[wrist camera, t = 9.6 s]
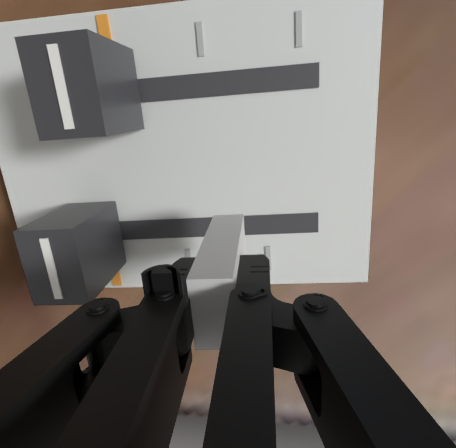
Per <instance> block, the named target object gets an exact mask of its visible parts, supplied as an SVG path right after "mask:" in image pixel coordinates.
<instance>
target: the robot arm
mask: <svg viewBox="0 0 456 448" xmlns="http://www.w3.org/2000/svg"><path fill="white" fill-rule="evenodd" d="M141 278H142V284H143V289H144V295H145V296H144V298H143V299H142V301H141V303H140V304H139V305H137V306H133V307H128V308H123V309H120V305H119V302H118V301H117V300H116V299H113V298H100V299H99V298H98V299H94V300H92V301H90V302H87V303H86V304H84V305H82V306H81V307H80V308H78V309H77V310H76V311H74V312H73V313H72V314H71V315H69V316H68V317H67V318H66V319H64V320H63V321H62V322H60V323H59V324H58V325H57V326H55V327H54V328H53V329H51V330H50V331H49V332H48V333H46V334H45V335H44V336H42V337H41V338H40V339H39V340H37V341H36V342H35V343H33V344H32V345H31V346H30V347H28V348H27V349H26V350H24V351H23V352H22V353H21V354H19V355H18V356H17V357H15V358H14V359H13V360H12V361H10V362H9V363H8V364H6V365H5V366H4V367H3V368H1V369H0V448H169V444H170V440H171V437H172V433H173V429H174V426H175V422H176V418H177V414H178V411H179V407H180V403H181V400H182V396H183V392H184V388H185V385H186V381H187V377H188V373H189V370H190V366H191V362H192V351H191V344H192V341H193V338H194V346H195V350H220V352H219V357H218V363H217V369H216V374H215V380H214V386H213V391H212V397H211V403H210V408H209V414H208V420H207V426H206V431H205V437H204V443H203V448H276V426H275V425H276V424H275V396H274V367H275V368H279V369H283V370H287V371H290V372H294V376H295V380H296V383H297V385H298V387H299V390H300V392H301V394H302V396H303V399H304V401H305V403H306V406H307V408H308V410H309V412H310V415H311V417H312V419H313V422H314V424H315V426H316V428H317V431H318V433H319V435H320V437H321V439H322V442H323V444H324V447H325V448H456V445H455V444H454V443H453V442H452V441H451V439H450V438H449V437H448V436H447V435H446V433H445V432H444V431H443V430H442V428H441V427H440V426H439V425H438V424H437V422H436V421H435V420H434V419H433V418H432V416H431V415H430V414H429V413H428V412H427V410H426V409H425V408H424V407H423V405H422V404H421V403H420V402H419V401H418V399H417V398H416V397H415V396H414V395H413V393H412V392H411V391H410V390H409V389H408V387H407V386H406V385H405V384H404V382H403V381H402V380H401V379H400V378H399V376H398V375H397V374H396V373H395V372H394V370H393V369H392V368H391V367H390V366H389V364H388V363H387V362H386V361H385V359H384V358H383V357H382V356H381V355H380V353H379V352H378V351H377V350H376V349H375V347H374V346H373V345H372V344H371V343H370V341H369V340H368V339H367V338H366V336H365V335H364V334H363V333H362V332H361V330H360V329H359V328H358V327H357V326H356V324H355V323H354V322H353V321H352V320H351V318H350V317H349V316H348V315H347V313H346V312H345V311H344V310H343V309H342V307H341V306H340V305H339V304H338V303H337V302H336V301H335V300H334V299H333V298H331V297H329V296H326V295H323V294H318V293H313V294H305V295H301V296H299V297H298V298H296V299H295V301H294V303H293V304H289V303H285V302H282V301H280V300H277V299H276V298H275V297H273V295H272V294H271V290H270V265H269V259H268V258H267V257H266V256H265V255H264V254H258V255H246V245H245V229H244V214H236V215H213V218H212V220H211V222H210V225H209V227H208V229H207V232H206V234H205V236H204V239H203V241H202V243H201V246H200V248H199V251H198V253H197V255H196V257H184V258H180V259H178V260H177V261H175V262H174V263H173V264H172V265H171V264H162V265H156V266H153V267H150V268H148V269H146V270H144V271H143V272H142V273H141ZM85 356H86V357H87V361H88V364H89V366H88V367H87V368H86V369H85V370H84V371H81V369H80V365H79V362H80V361H81V360H82V359H83V358H84V357H85Z"/></svg>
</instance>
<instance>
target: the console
mask: <svg viewBox="0 0 456 448" xmlns="http://www.w3.org/2000/svg"><path fill="white" fill-rule="evenodd" d="M382 17H383V0H187V1H179V2H170V3H162V4H153V5H145V6H136V7H128V8H119V9H111V10H102V11H94V12H85V13H77V14H68V15H59V16H51V17H42V18H34V19H25V20H17V21H8V22H0V168H1V171H2V175H3V178H4V182H5V186H6V189H7V193H8V196H9V200H10V203H11V207H12V210H13V214H14V217H15V221H16V225H17V228H20V227H22V226H24V225H26V224H28V223H30V222H32V221H34V220H36V219H38V218H40V217H42V216H44V215H46V214H48V213H50V212H52V211H54V210H56V209H58V208H60V207H62V206H64V205H66V204H69V203H88V202H107V201H116V206H117V212H118V217H119V223H120V228H121V234H122V239H123V244H124V250H125V255H126V261H127V262H126V264H125V265H124V266H123V267H122V268H121V269H120V270H119V272H118V273H117V274H116V275H115V276H114V277H113V278H112V280H111V281H110V282H109V283H108V284H107V285H106V286H105V288H115V287H143V284H142V278H141V273H142V272H143V271H144V270H146V269H148V268H150V267H153V266H156V265H162V264H171V265H172V264H173V263H174V262H175V261H177V260H178V259H180V258H184V257H196V255H197V253H198V251H199V248H200V246H201V243H202V241H203V239H204V236H205V234H206V232H207V229H208V227H209V225H210V222H211V220H212V218H213V215H236V214H244V229H245V245H246V255H258V254H264V255H265V256H266V257H267V258H268V259H269V265H270V284H293V283H338V282H368V267H369V249H370V231H371V213H372V195H373V178H374V160H375V142H376V124H377V106H378V89H379V71H380V53H381V35H382ZM81 29H88V30H91V31H93V32H95V33H97V34H100V35H102V36H104V37H106V38H109V39H111V40H113V41H115V42H118V43H120V44H122V45H124V46H127V47H129V48H131V49H133V53H134V60H135V67H136V74H137V81H138V87H139V94H140V101H141V108H142V115H143V122H144V128H145V129H142V130H137V131H132V132H126V133H121V134H116V135H110V136H103V137H90V138H76V139H63V140H49V141H39V137H38V133H37V129H36V125H35V121H34V117H33V113H32V108H31V104H30V100H29V96H28V92H27V88H26V83H25V79H24V75H23V71H22V67H21V63H20V58H19V54H18V50H17V46H16V42H15V38H14V37H18V36H27V35H36V34H45V33H54V32H63V31H72V30H81Z"/></svg>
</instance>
